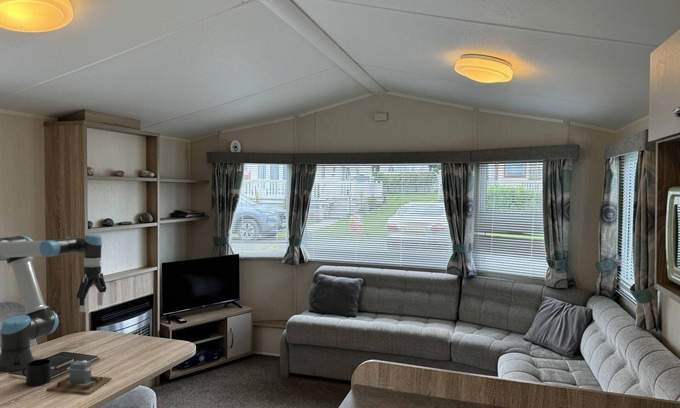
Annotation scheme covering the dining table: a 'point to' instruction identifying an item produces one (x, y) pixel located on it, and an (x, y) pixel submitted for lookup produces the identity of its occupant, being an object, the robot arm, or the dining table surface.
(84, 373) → the servo
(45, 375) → the mug
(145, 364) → the dining table surface
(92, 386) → the tray
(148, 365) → the dining table surface
